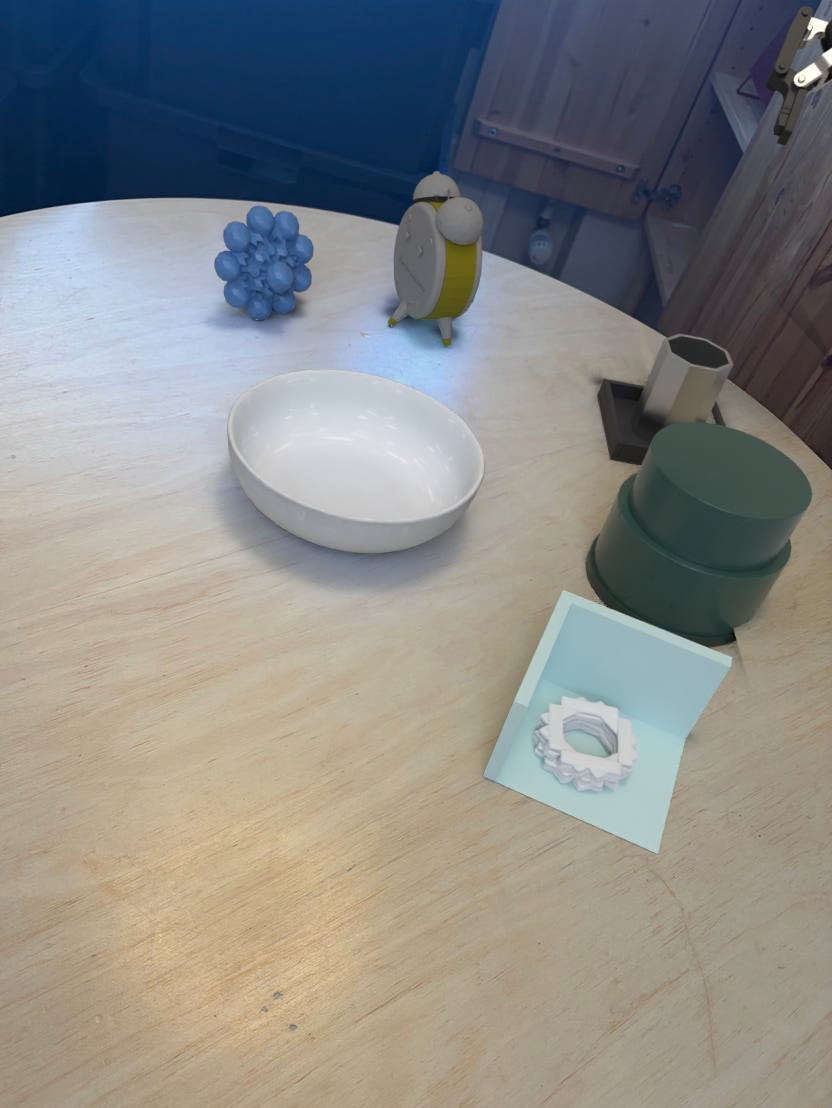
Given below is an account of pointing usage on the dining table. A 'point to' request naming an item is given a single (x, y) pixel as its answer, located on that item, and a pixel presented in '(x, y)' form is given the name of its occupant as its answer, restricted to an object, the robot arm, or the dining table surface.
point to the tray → (626, 420)
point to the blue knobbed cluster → (264, 262)
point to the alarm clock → (437, 254)
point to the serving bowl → (353, 459)
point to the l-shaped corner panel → (605, 718)
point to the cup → (681, 384)
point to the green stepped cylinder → (699, 532)
